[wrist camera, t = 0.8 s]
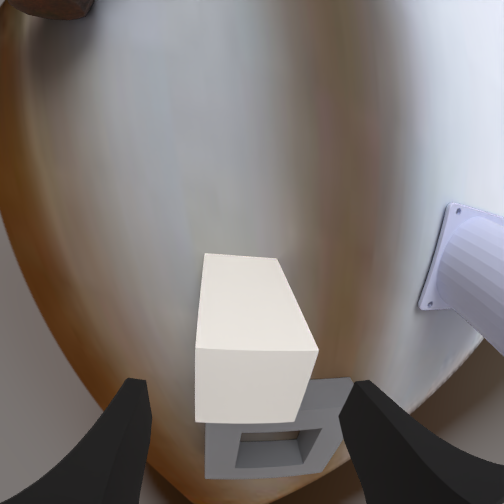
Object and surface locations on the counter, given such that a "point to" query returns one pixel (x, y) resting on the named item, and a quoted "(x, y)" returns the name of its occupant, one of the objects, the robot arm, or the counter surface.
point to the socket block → (283, 451)
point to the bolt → (54, 8)
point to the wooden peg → (249, 343)
